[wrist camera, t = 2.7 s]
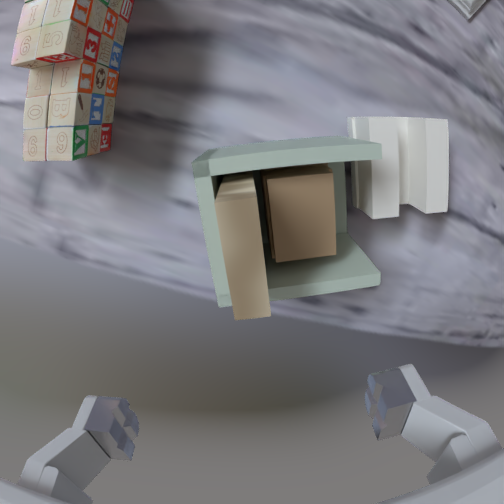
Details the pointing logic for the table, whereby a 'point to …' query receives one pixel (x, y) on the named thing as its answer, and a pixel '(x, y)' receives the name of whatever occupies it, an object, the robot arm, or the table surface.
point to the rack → (292, 213)
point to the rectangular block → (242, 245)
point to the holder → (401, 165)
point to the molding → (467, 6)
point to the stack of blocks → (70, 75)
